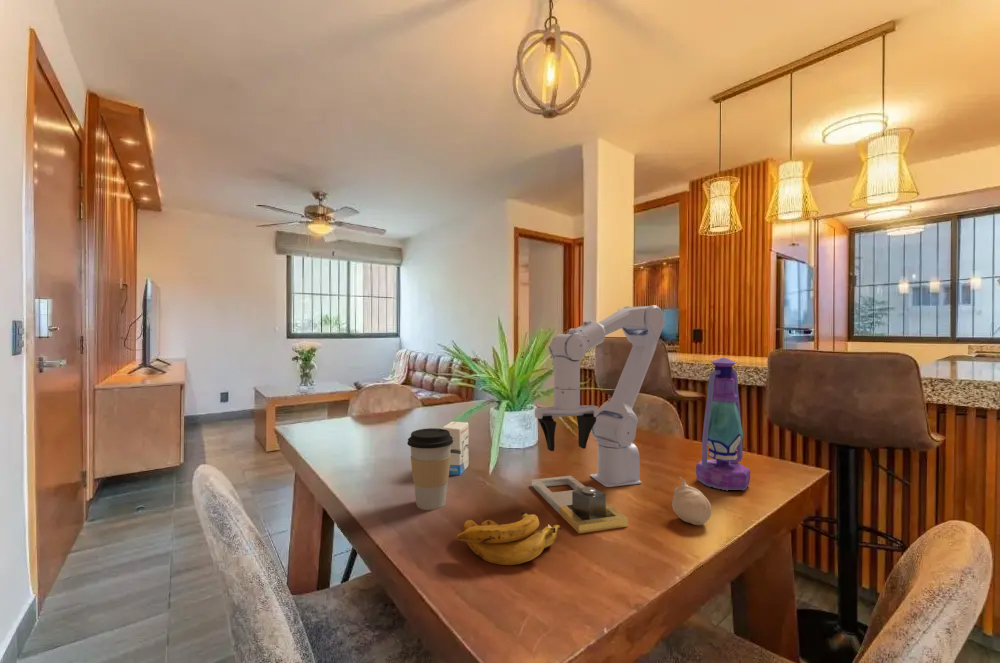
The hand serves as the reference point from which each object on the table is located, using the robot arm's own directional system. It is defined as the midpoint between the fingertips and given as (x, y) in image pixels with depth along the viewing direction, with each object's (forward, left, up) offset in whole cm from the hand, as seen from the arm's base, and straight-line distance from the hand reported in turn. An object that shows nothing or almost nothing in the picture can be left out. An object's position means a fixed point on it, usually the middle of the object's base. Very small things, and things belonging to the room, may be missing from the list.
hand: (566, 448), depth 96 cm
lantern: (-38, +5, -10) cm, 40 cm away
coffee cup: (+30, -2, -10) cm, 32 cm away
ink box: (+21, -22, -10) cm, 32 cm away
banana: (+19, +18, -10) cm, 28 cm away
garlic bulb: (-17, +20, -10) cm, 28 cm away
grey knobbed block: (+1, +13, -10) cm, 16 cm away
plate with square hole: (+1, +6, -10) cm, 12 cm away
